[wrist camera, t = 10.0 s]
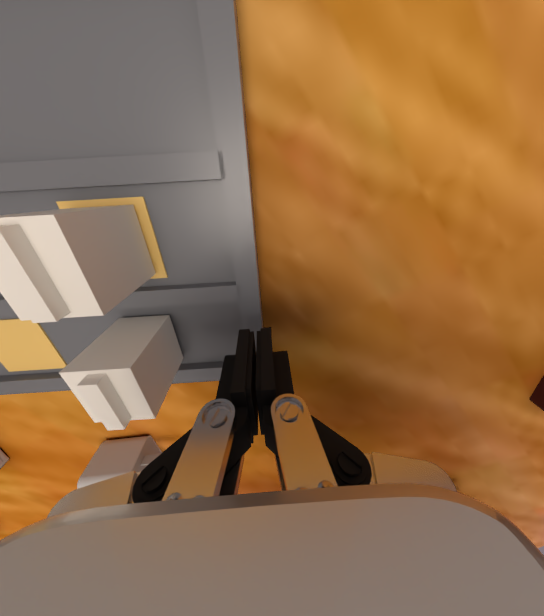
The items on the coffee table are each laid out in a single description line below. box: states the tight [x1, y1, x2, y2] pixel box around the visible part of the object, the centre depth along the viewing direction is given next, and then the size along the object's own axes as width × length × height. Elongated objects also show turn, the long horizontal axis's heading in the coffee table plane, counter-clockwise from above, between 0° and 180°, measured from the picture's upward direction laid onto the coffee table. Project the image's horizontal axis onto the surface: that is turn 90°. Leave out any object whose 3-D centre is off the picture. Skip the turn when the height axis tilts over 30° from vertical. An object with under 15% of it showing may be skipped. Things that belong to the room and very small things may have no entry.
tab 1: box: [0, 205, 156, 323], centre depth 9 cm, size 3×3×5 cm
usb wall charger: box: [77, 436, 162, 489], centre depth 20 cm, size 4×7×4 cm, turn 97°
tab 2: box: [59, 315, 183, 430], centre depth 12 cm, size 3×3×5 cm
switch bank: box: [0, 0, 263, 395], centre depth 11 cm, size 24×20×2 cm
